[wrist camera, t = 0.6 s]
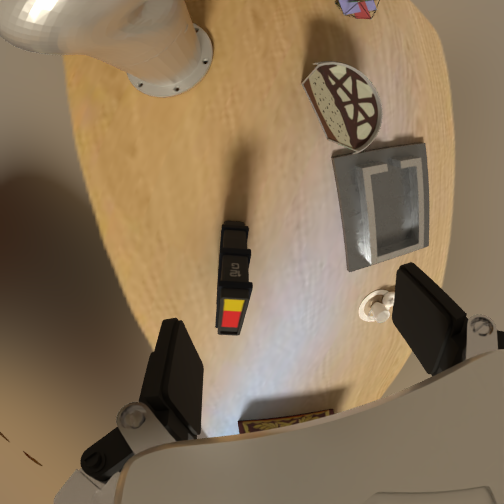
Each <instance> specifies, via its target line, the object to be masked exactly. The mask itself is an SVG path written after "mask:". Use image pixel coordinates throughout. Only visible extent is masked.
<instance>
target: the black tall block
mask: <svg viewBox="0 0 504 504" xmlns="http://www.w3.org/2000/svg"><path fill="white" fill-rule="evenodd" d="M248 231H249V228H248V226H245V224H244V223H243V222H234V221H225V222H224V224H222V230H221V242H220V255H219V269H218V283H217V303H216V304H217V310H216V326H215V327H216V328H218V334H220V335H240V331H241V328H242V325H243V321H244V318H245V314H246V310H247V307H248V303H249V299H250V296H251V292H252V288H253V284H252V282H249V273H248V268H249V263H250V258H251V249H247V238H248Z"/></svg>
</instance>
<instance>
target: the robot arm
mask: <svg viewBox="0 0 504 504" xmlns="http://www.w3.org/2000/svg"><path fill="white" fill-rule="evenodd" d="M196 31H198V32H197V33H196ZM0 36H1V37H2V38H3V39H4V40H5V41H7V42H8V43H10V44H11V45H13V46H15V47H18V48H20V49H23V50H26V51H30V52H36V53H41V54H52V55H75V54H81V55H87V56H91V57H94V58H96V59H99V60H101V61H103V62H105V63H107V64H110V65H112V66H114V67H116V68H118V69H120V70H122V71H125V72H126V73H127V75H128V78H129V80H130V82H131V83H132V85H133V86H134V87H136V88H137V89H138V90H139V91H141V92H143V93H144V94H147V95H150V96H154V97H172V96H176V95H179V94H182V93H184V92H186V91H188V90H190V89H191V88H193V87H194V86H196V85H197V84H198V83H199V82H200V81H201V80H202V79H203V78H204V76H205V75H206V74H207V72H208V70H209V68H210V66H211V62H212V59H213V48H212V44H211V40H210V38H209V36H208V35H207V33H206V32H205V31H204V30H203V29H202V28H201V27H199V26H198V25H196V24H194V23H192V20H191V17H190V14H189V12H188V9H187V6H186V4H185V1H184V0H0ZM205 61H207V64H204V62H205ZM141 84H143V86H142V87H141V86H140V85H141ZM177 88H179V91H176V89H177ZM392 320H393V323H394V325H395V326H396V328H397V329H398V330H399V332H400V333H401V335H402V336H403V338H404V339H405V340H406V342H407V343H408V345H409V346H410V348H411V349H412V351H413V352H414V354H415V355H416V357H417V358H418V360H419V361H420V363H421V364H422V366H423V367H424V369H425V370H426V372H427V373H428V374H431V375H432V376H433V377H431V378H428V379H426V380H424V381H422V382H420V383H418V384H415V385H413V386H411V387H409V388H406V389H404V390H402V391H399V392H397V393H394V394H392V395H389V396H387V397H384V398H381V399H379V400H376V401H373V402H370V403H368V404H365V405H362V406H359V407H356V408H353V409H350V410H347V411H343V412H340V413H337V414H333V415H330V416H326V417H322V418H319V419H315V420H311V421H307V422H303V423H298V424H294V425H289V426H285V427H280V428H275V429H269V430H263V431H257V432H251V433H244V434H237V435H230V436H222V437H212V438H202V439H197V435H199V434H200V432H201V411H202V390H203V372H204V368H203V364H202V361H201V359H200V357H199V355H198V353H197V351H196V349H195V347H194V345H193V343H192V341H191V338H190V336H189V334H188V332H187V330H186V328H185V325H184V323H183V321H181V320H180V321H178V319H177V318H171V319H165V320H163V322H162V325H161V329H160V332H159V336H158V340H157V343H156V347H155V351H154V352H152V353H151V355H150V358H149V361H148V365H147V369H146V373H145V377H144V381H143V385H142V389H141V394H140V398H139V402H132V403H129V404H127V405H125V406H124V407H122V408H121V409H120V411H119V412H118V414H117V417H116V423H117V426H118V427H116V428H115V429H114V430H112V431H111V432H110V433H108V434H107V435H106V436H105V437H103V438H102V439H100V440H99V441H97V442H96V443H95V444H93V445H92V446H91V447H89V448H88V449H87V450H86V451H84V453H83V455H82V457H81V467H82V468H81V469H80V470H78V469H76V470H75V472H74V473H73V474H72V475H71V477H70V478H69V479H68V480H67V482H66V483H65V484H64V485H63V487H62V488H61V489H60V490H59V492H58V493H57V494H56V496H55V498H54V504H504V332H503V331H498V330H497V329H496V325H495V323H494V321H493V320H492V319H491V318H489V317H487V316H485V315H474V316H472V317H470V319H468V318H467V317H466V313H465V312H464V311H463V310H462V309H461V308H460V307H459V306H458V305H457V304H456V303H455V302H454V301H453V300H452V299H451V298H450V297H449V296H448V295H447V294H446V293H445V292H444V291H443V290H442V289H441V288H440V287H439V286H438V285H437V284H436V283H435V282H434V281H433V280H432V279H431V278H429V277H428V276H427V275H426V274H425V273H424V272H423V271H422V270H421V269H420V268H418V267H417V266H416V265H415V264H414V263H412V262H410V263H407V264H404V265H401V266H400V268H399V269H398V270H397V274H396V286H395V296H394V305H393V313H392Z"/></svg>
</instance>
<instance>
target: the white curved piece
mask: <svg viewBox="0 0 504 504" xmlns="http://www.w3.org/2000/svg"><path fill="white" fill-rule="evenodd" d="M375 295H384V297H383V299H382V302H383V304H384V305H383V304H381V303H379V302H375V303H374V304H373V305H372V306H371V310H370V311H369V314H368V316H367V315H366V314H365V313H364V306H365V304H366V302H367V301H368V300H369V299H370V298H372V297H373V296H375ZM394 296H395V292H388V291H387V290H377V291H374V292H372V293H370V294H369V295H368V296H366V297H365V299H364V300H363V301H362V303H361V304H360V307H359V316H360V318H361V319H362V320H364V321H375V320H376V321H377V322H378V323H383V322H385V321H386V320H387V319H388V318H389V316H390V312H389V311H388V310H389V308H390V307H391V306H393V305H394ZM392 297H393V299H392ZM385 306H386V307H385ZM371 312H372V314H373V316H370V313H371Z"/></svg>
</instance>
